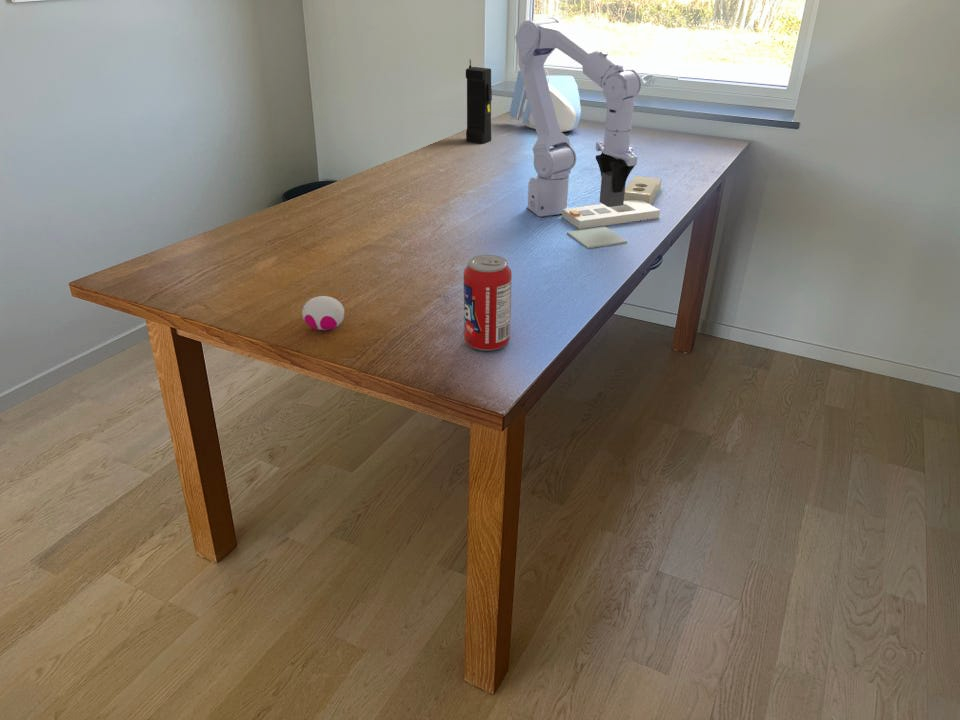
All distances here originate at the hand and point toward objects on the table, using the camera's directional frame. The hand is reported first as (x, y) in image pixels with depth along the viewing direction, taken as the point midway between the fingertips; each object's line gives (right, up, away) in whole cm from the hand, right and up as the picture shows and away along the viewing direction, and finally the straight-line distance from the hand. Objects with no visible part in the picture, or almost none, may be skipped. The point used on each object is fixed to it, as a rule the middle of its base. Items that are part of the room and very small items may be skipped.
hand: (612, 189), depth 173 cm
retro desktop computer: (-6, +42, +91) cm, 100 cm away
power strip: (+1, -5, +11) cm, 12 cm away
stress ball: (-58, -34, -40) cm, 79 cm away
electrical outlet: (+12, +3, +25) cm, 28 cm away
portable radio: (-31, +33, +74) cm, 87 cm away
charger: (0, -3, +2) cm, 4 cm away
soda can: (-29, -37, -44) cm, 65 cm away
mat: (-4, -12, -1) cm, 12 cm away
